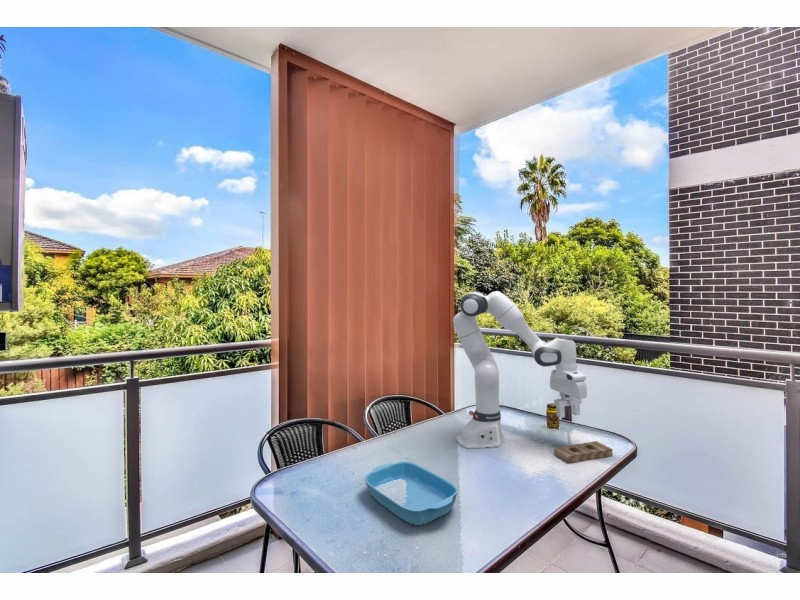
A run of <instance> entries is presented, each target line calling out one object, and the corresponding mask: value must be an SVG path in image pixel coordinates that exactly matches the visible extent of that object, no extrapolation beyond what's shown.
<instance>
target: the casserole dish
mask: <svg viewBox="0 0 800 600" xmlns="http://www.w3.org/2000/svg"><path fill="white" fill-rule="evenodd" d="M363 478H364V482H365V484H366V486H367V490H368V492H369V493H370V495H371V496H373V497H374V498H375V499H376V500H375V499H374V498H373V497H372V498H373V499H374V500H375V501H377V502H378V503H379V502H380V503H381V504H380V503H379V504H380V505H381V506H383V505H384V506H383V507H385V508H386V509H387V508H388V509H387V510H389V511H390V512H391V513H393V514H394V515H395V516H397V517H398V518H400V519H402V520H403V521H405V522H406V523H408V524H410V525H412V524H414V525H413V526H417V525H420V526H423V524H424V525H427V524H428V522H429V523H430V522H432V520H433V521H435V520H436V519H439V518H440V517H442V516H444V515H446V514H447V513H449V512H450V511H451V510H452V508H453V507H454V505H455V502H456V499H457V495H458V492H459V491H458V489H459V488H458V487H457V486H456V485H455V484H454V483H452V482H451V481H449V480H447V479H445V478H444V477H442V476H440V475H438V474H437V473H434V472H432V471H430V470H429V469H427V468H424V466H421V465H419V464H416V463H414V462H412V461H402V460H401V461H396V462H391V463H383V464H381V465H378V466H376V467H374V468H373V469H372V470H371V471H370V472H369V473H366V474H365V476H364V477H363ZM398 479H402V480H405V481H406V483H407V484H406V485H407V486H406V492H407V493H405V494H406V495H407V497H405V499H406V500H407V501H405V502H407V503H403V504H405V505H402V506H401V505H400V504H398V503H396V502H395V501H393V500H392V499H390V498H389V497H387V496H386V495H384V494H383V493H381V492H380V491H379V490H377V489H376V488H375V487H377V486H379V485H381V484H385V483H387V482H390V481H393V480H398ZM438 517H439V518H438ZM434 519H435V520H434ZM426 523H427V524H426Z"/></svg>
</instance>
